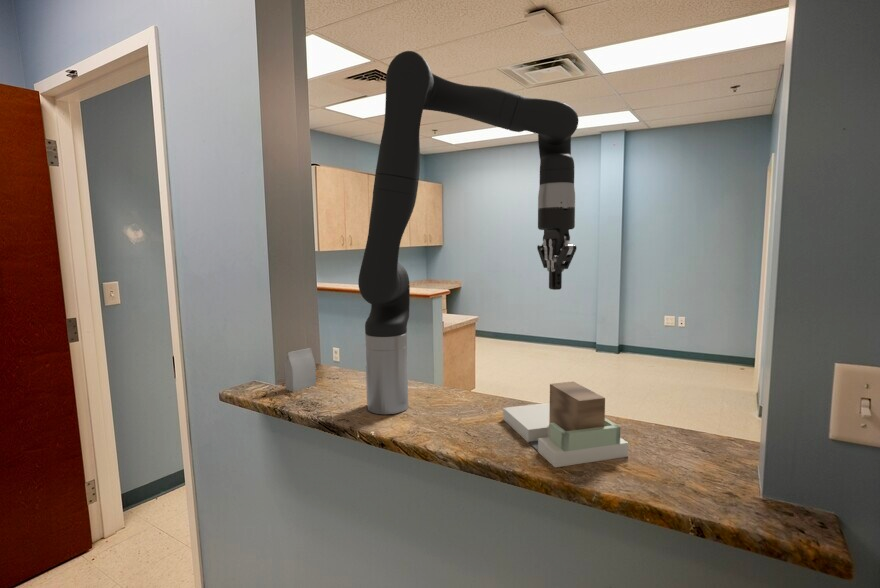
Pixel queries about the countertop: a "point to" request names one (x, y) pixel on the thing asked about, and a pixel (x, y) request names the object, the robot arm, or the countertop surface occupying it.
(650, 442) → the countertop surface
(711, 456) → the countertop surface
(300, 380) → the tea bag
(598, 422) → the walnut block
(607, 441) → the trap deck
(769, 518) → the countertop surface
